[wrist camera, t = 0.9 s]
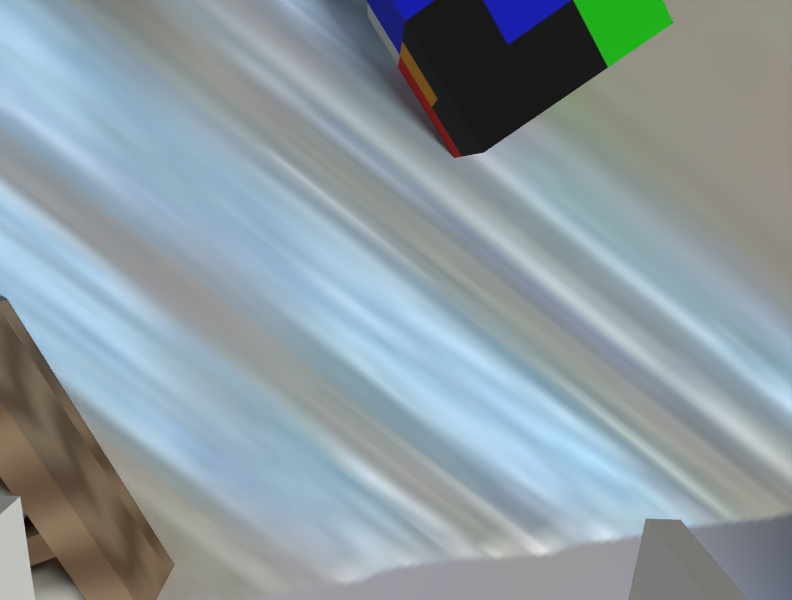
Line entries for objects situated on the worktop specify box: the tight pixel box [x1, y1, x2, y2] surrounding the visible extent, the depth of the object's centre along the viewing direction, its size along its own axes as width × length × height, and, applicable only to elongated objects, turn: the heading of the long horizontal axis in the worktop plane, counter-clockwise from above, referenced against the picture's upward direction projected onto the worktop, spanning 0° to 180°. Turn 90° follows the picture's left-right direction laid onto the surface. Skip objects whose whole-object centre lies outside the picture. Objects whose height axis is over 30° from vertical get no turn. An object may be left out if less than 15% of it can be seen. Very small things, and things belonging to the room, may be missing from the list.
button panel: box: [0, 299, 174, 600], centre depth 35 cm, size 24×12×6 cm, turn 22°
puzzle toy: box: [367, 0, 673, 158], centre depth 27 cm, size 10×10×10 cm
